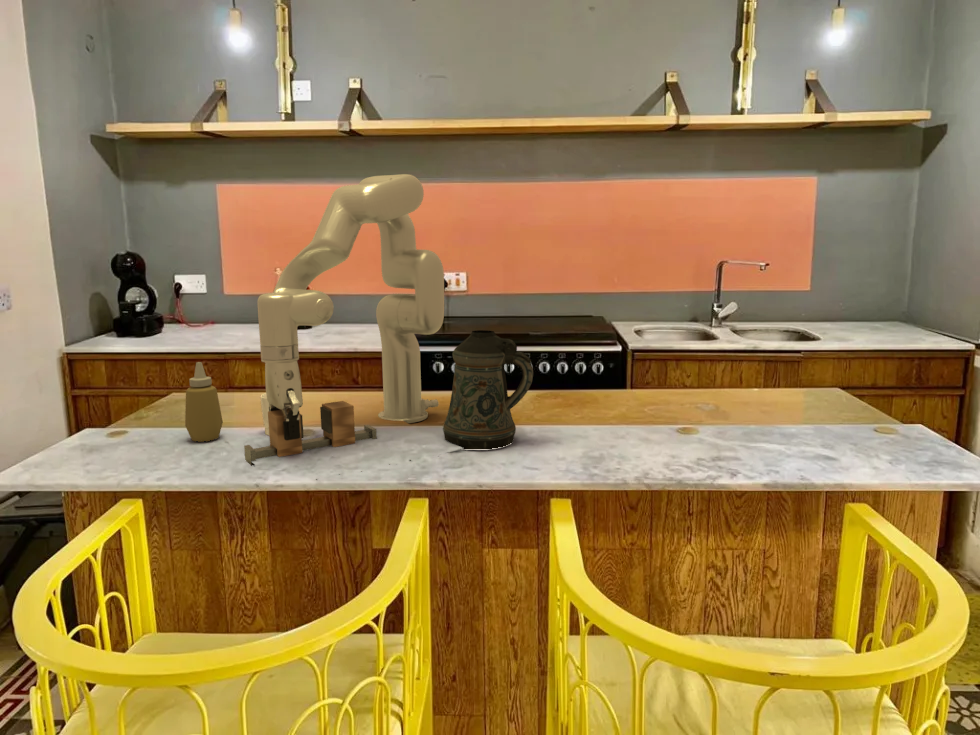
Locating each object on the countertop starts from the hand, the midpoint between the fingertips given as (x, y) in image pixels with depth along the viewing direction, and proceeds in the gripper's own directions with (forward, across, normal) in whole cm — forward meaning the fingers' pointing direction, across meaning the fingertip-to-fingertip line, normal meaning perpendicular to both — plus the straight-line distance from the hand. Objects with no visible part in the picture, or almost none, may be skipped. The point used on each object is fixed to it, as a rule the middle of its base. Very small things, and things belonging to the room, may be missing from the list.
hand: (285, 433), depth 151 cm
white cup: (+5, +16, -4) cm, 17 cm away
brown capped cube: (+4, 0, 0) cm, 4 cm away
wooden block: (+4, 0, -12) cm, 13 cm away
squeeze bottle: (+5, +24, +11) cm, 27 cm away
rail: (+5, 0, -6) cm, 8 cm away
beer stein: (+5, -15, -41) cm, 44 cm away
